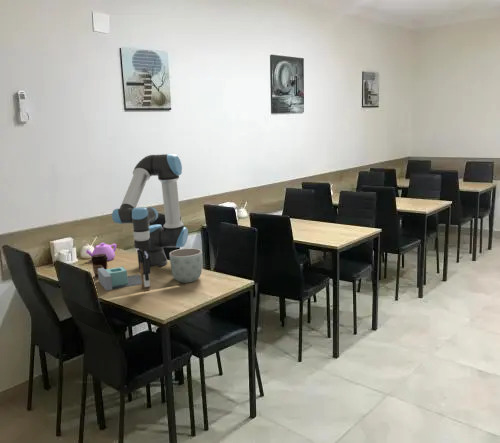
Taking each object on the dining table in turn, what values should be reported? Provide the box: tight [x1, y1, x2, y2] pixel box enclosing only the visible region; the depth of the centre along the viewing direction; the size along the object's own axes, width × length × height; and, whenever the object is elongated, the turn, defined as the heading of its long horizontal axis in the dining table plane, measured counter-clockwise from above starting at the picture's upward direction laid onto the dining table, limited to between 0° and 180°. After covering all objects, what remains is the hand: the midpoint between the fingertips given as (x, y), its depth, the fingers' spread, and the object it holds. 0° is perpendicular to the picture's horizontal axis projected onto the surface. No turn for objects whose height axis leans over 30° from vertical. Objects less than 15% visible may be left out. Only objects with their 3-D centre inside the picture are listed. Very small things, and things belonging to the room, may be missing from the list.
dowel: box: [139, 262, 151, 292], centre depth 240 cm, size 4×4×14 cm
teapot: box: [85, 242, 118, 262], centre depth 301 cm, size 14×20×11 cm
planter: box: [168, 247, 203, 284], centre depth 253 cm, size 17×17×15 cm
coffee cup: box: [90, 254, 108, 279], centre depth 262 cm, size 9×8×13 cm
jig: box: [98, 268, 142, 292], centre depth 251 cm, size 21×18×8 cm
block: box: [105, 266, 129, 287], centre depth 249 cm, size 9×9×7 cm
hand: (145, 285), depth 240 cm, fingers closed on dowel, 4 cm apart
